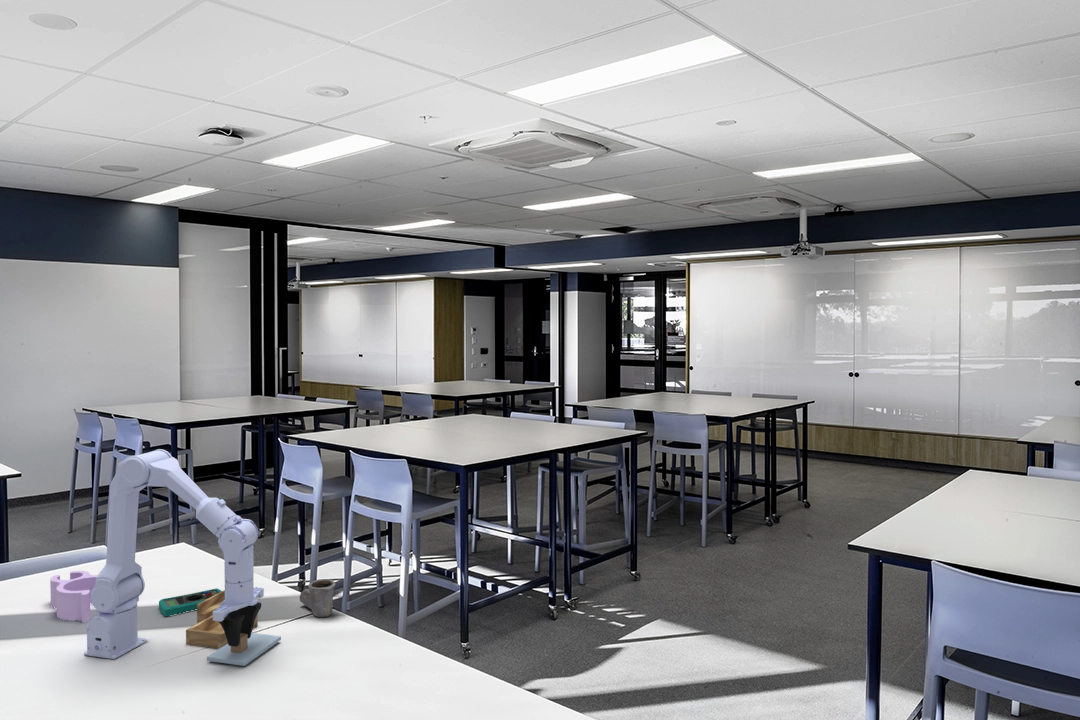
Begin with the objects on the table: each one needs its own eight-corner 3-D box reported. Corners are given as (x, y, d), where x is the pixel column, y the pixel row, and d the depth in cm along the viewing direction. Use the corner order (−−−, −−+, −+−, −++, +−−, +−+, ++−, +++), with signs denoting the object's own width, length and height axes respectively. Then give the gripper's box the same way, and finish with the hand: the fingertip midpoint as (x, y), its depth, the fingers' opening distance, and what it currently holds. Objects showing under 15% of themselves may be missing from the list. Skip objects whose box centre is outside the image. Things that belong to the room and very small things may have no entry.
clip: (36, 607, 183) (35, 580, 183) (90, 592, 193) (89, 566, 193) (73, 627, 172) (72, 598, 171) (128, 610, 182) (127, 582, 182)
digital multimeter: (228, 605, 187) (228, 594, 186) (164, 619, 177) (164, 607, 177) (220, 597, 192) (220, 586, 192) (157, 610, 183) (157, 598, 183)
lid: (244, 670, 152) (244, 646, 152) (206, 665, 154) (206, 641, 154) (280, 644, 165) (280, 622, 164) (245, 639, 167) (245, 618, 166)
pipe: (314, 602, 189) (314, 571, 188) (341, 616, 180) (341, 584, 179) (292, 608, 184) (292, 577, 184) (318, 623, 175) (318, 590, 175)
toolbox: (221, 648, 161) (221, 620, 161) (177, 643, 163) (176, 615, 163) (278, 612, 182) (278, 586, 181) (238, 607, 184) (238, 582, 184)
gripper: (233, 592, 149) (234, 658, 149) (275, 569, 163) (275, 629, 163) (203, 589, 150) (204, 654, 151) (247, 566, 164) (248, 626, 165)
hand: (239, 641), depth 157 cm, fingers open, 3 cm apart
